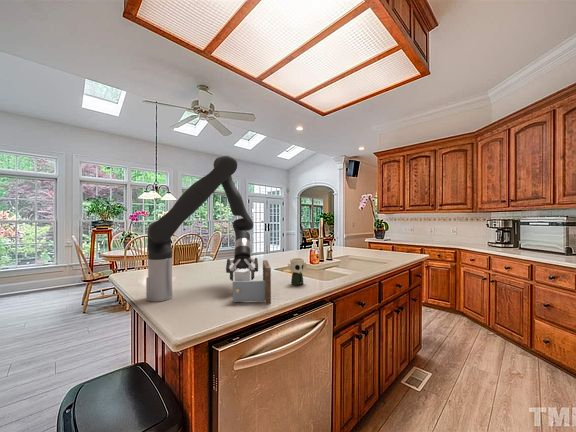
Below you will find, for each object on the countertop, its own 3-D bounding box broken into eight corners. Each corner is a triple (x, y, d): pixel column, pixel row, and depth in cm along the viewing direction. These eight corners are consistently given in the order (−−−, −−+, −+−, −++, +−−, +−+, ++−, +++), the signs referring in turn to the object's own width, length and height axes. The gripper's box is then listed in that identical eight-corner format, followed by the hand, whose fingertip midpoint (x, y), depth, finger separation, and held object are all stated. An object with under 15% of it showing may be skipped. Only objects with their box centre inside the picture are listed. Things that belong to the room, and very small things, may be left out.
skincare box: (243, 301, 106) (242, 272, 106) (234, 300, 107) (234, 271, 108) (250, 297, 112) (250, 269, 112) (241, 296, 113) (241, 268, 113)
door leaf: (266, 302, 103) (266, 282, 103) (232, 303, 102) (232, 282, 102) (266, 300, 106) (266, 280, 106) (233, 301, 105) (233, 281, 105)
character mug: (291, 287, 126) (291, 260, 126) (284, 284, 133) (284, 259, 133) (310, 284, 132) (309, 259, 132) (302, 281, 138) (302, 257, 138)
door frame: (265, 303, 103) (265, 268, 103) (263, 290, 121) (262, 260, 121) (270, 303, 103) (270, 267, 103) (267, 290, 122) (267, 260, 122)
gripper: (226, 245, 120) (224, 275, 109) (257, 244, 122) (258, 274, 111) (227, 255, 125) (226, 284, 114) (257, 254, 127) (258, 283, 116)
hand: (242, 279), depth 112 cm, fingers open, 8 cm apart
